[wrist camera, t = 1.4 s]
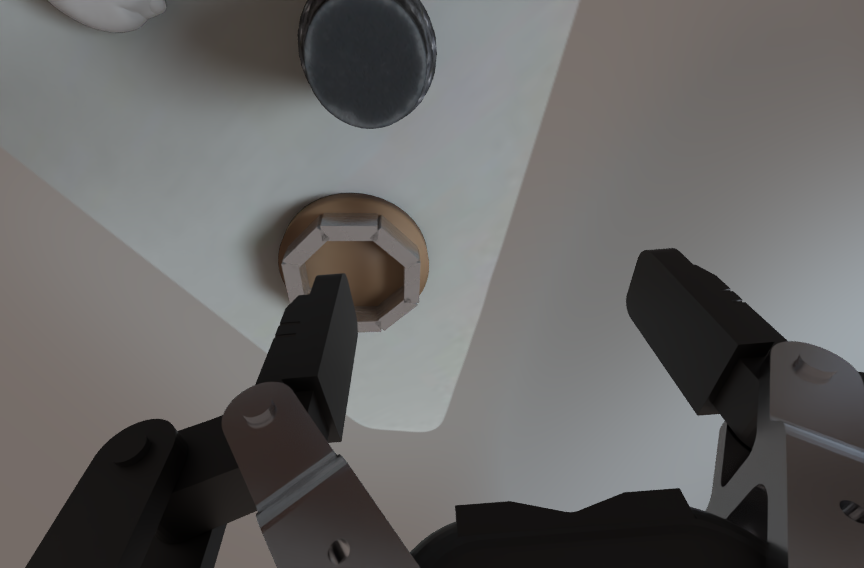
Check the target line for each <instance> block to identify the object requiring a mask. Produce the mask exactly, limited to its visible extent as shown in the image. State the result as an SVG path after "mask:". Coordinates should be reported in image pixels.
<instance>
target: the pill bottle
mask: <svg viewBox="0 0 864 568" xmlns="http://www.w3.org/2000/svg"><path fill="white" fill-rule="evenodd" d="M298 46H299V57H300V60H301V65H302V68H303V71H304V73H305V76H306V78H307V80H308V83H309V84H310V86H311V88H312V91H313V92H314V94H315V96H316V97H317V99H318V100H319V101H320V103H321V104H322V105H323V106H324V107H325V109H326V110H328V111H329V112H330V113H331V114H332V115H334V116H335V117H336V118H338V119H339V120H341V121H343V122H345V123H347V124H349V125H352V126H355V127H359V128H366V129H374V128H382V127H385V126H389V125H391V124H393V123H395V122H397V121H399V120H400V119H403V118H404V117H405V116H407V115H408V114H410V113H411V112H412V111H413V110H414V109H415V108H416V107H417V106H418V104H420V103H421V102H422V100H423V98H424V96H425V95H426V93H427V91H428V89H429V87H430V85H431V82H432V80H433V76H434V73H435V67H436V55H437V52H436V37H435V33H434V30H433V27H432V24H431V21H430V18H429V16H428V14H427V11H426V10H425V8H424V6H423V5H422V3H421V1H420V0H308V1H307V2H306V4H305V6H304V9H303V12H302V15H301V18H300V23H299V29H298Z"/></svg>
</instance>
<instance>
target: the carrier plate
mask: <svg viewBox="0 0 864 568" xmlns="http://www.w3.org/2000/svg"><path fill="white" fill-rule="evenodd" d="M278 264H279V271H280V274H281V277H282V280H283V282H284V284H285V286H286V288H287V293H288V297H289V302H290V303H291V302H292V301H293V300H294V299H295V298H296V297H297V296H298V295H307V294H310V292H311V289H312V286H313V283H314V280H315V277H316V276H317V275H327V274H340V273H345V274H346V276H347V279H348V283H349V287H350V291H351V295H352V300H353V304H354V308H355V312H356V317H357V324H358V332H381V329H383V330H384V331H385V330H386V329H387V328H388V327H390V326H391V325H392V324H394V323H395V322H396V321H398V320H399V319H400V318H402V317H403V316H404V315H405V314H407V313H408V312H409V311H411V310H412V309H413V308H415V307H416V306H417V303H419V295H420V294H421V292H422V291H423V289H424V287H425V284H426V281H427V278H428V272H429V259H428V253H427V247H426V243H425V240H424V237H423V235H422V233H421V231H420V229H419V227H418V226H417V224H416V223H415V222H414V220H413V219H412V218H411V217H410V216H409V215H408V214H407V213H405V212H404V211H403V210H402V209H400V208H399V207H397V206H396V205H394V204H392V203H390V202H388V201H386V200H384V199H381V198H378V197H375V196H371V195H366V194H359V193H342V194H336V195H330V196H327V197H324V198H321V199H319V200H317V201H314V202H312V203H311V204H309V205H308V206H306V207H305V208H303V209H302V210H301V211H300V212H299V213H298V214H297V215H296V216H295V217H294V218H293V220H292V221H291V223H290V224H289V226H288V228H287V230H286V232H285V235H284V237H283V240H282V242H281V245H280V249H279V256H278Z"/></svg>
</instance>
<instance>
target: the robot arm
mask: <svg viewBox="0 0 864 568" xmlns="http://www.w3.org/2000/svg"><path fill="white" fill-rule="evenodd" d="M626 306H627V310H628V314H629V316H630V317H631V319H632V321H633V322H634V324H635V325H636V327H637V328H638V329H639V331H640V332H641V334H642V335H643V337H644V338H645V340H646V341H647V343H648V344H649V345H650V347H651V348H652V350H653V351H654V353H655V354H656V356H657V357H658V359H659V360H660V362H661V363H662V364H663V366H664V367H665V369H666V370H667V372H668V373H669V375H670V376H671V378H672V379H673V380H674V382H675V383H676V385H677V386H678V388H679V389H680V391H681V392H682V393H683V395H684V396H685V398H686V399H687V401H688V402H689V404H690V405H691V407H692V408H693V410H694V411H695V413H696V414H697V415H711V414H721V416H722V417H723V419H724V420H725V421H724V423H723V424H722V426H721V428H720V431H719V439H718V447H717V455H716V462H715V471H714V478H713V487H712V494H711V498H710V501H709V504H708V507H707V509H706V511H702V510H699V509H696V508H692V507H689V505H688V503H687V501H686V500H685V498H684V496H683V494H682V492H681V490H680V489H679V488H676V489H664V490H650V491H637V492H625V493H622V494H619V495H617V496H614V497H612V498H609V499H607V500H605V501H602V502H599V503H597V504H594V505H592V506H589V507H587V508H584V509H582V510H580V511H577V512H563V511H558V510H553V509H548V508H542V507H537V506H532V505H527V504H522V503H516V502H511V501H508V502H495V503H483V504H470V505H457V506H455V511H456V522H454V523H451V524H449V525H446V526H444V527H442V528H441V529H439V530H437V531H435V532H433V533H432V534H430V535H429V536H428V537H426V538H425V539H424V540H423V541H421V542H420V543H419V544H418V545H417V546H416V547H415V548H414V549H413V550H412V551H411V552H409V551H408V549H407V548H406V546H405V545H404V544H403V542H402V541H401V539H400V538H399V536H398V535H397V533H396V532H395V531H394V529H393V528H392V526H391V525H390V523H389V522H388V521H387V519H386V518H385V516H384V515H383V513H382V512H381V510H380V509H379V508H378V506H377V505H376V503H375V502H374V500H373V499H372V497H371V496H370V495H369V493H368V492H367V490H366V489H365V487H364V486H363V484H362V483H361V482H360V480H359V479H358V477H357V476H356V474H355V473H354V472H353V470H352V469H351V467H350V466H349V464H348V463H347V462H346V460H345V459H344V458H343V457H342V456H341V455H340V454H339V455H337V454H336V453H335V452H334V451H333V449H332V448H331V447H330V445H329V444H328V443H331V442H341V441H342V434H343V427H344V421H345V415H346V408H347V402H348V395H349V389H350V382H351V376H352V370H353V363H354V357H355V350H356V344H357V337H358V324H357V317H356V312H355V308H354V304H353V300H352V295H351V291H350V287H349V283H348V279H347V276H346V274H345V273H340V274H327V275H317V276H316V277H315V280H314V283H313V286H312V289H311V292H310V294H307V295H298V296H297V297H296V298H295V299H294V300H293V301H292V302H291V303H290V304H289V306H288V307H287V308H286V309H285V312H284V314H283V317H282V319H281V322H280V326H279V327H278V329H277V332H276V334H275V338H274V339H273V342H272V344H271V347H270V349H269V352H268V354H267V357H266V359H265V362H264V364H263V367H262V369H261V372H260V374H259V377H258V379H257V382H256V384H255V385H254V386H252V387H250V388H248V389H246V390H245V391H243V392H241V393H240V394H239V395H238V396H236V397H235V398H234V399H233V400H232V401H231V403H230V404H229V405H228V407H227V408H226V410H225V412H224V414H223V415H222V416H219V417H217V418H214V419H212V420H209V421H206V422H203V423H200V424H197V425H194V426H192V427H188V428H186V429H183V430H180V431H177V430H176V429H175V428H174V426H173V425H172V424H171V423H170V422H168V421H166V420H163V419H150V420H145V421H142V422H138V423H136V424H134V425H131V426H129V427H127V428H126V429H124V430H122V431H121V432H119V433H118V434H116V435H115V436H114V437H112V438H111V439H110V440H109V441H108V442H107V443H106V444H105V445H104V446H103V447H102V448H101V449H100V450H99V451H98V453H97V454H96V455H95V457H94V458H93V460H92V461H91V463H90V465H89V466H88V468H87V469H86V471H85V473H84V474H83V476H82V477H81V479H80V481H79V482H78V484H77V485H76V487H75V489H74V490H73V492H72V493H71V495H70V497H69V499H68V500H67V501H66V503H65V505H64V506H63V508H62V509H61V511H60V513H59V514H58V516H57V517H56V519H55V521H54V522H53V524H52V525H51V527H50V529H49V530H48V532H47V534H46V535H45V537H44V538H43V540H42V542H41V543H40V545H39V546H38V548H37V550H36V551H35V553H34V555H33V556H32V557H31V559H30V561H29V563H28V564H27V566H26V567H25V568H214V566H215V562H216V559H217V555H218V552H219V549H220V545H221V542H222V538H223V535H224V531H225V528H226V525H227V523H229V522H231V521H234V520H236V519H238V518H241V517H243V516H245V515H248V514H250V513H253V512H255V511H258V513H257V514H256V517H257V521H258V524H259V526H260V529H261V531H262V534H263V536H264V538H265V541H266V543H267V545H268V548H269V550H270V552H271V554H272V557H273V559H274V562H275V564H276V566H277V568H864V373H863V372H858V371H857V370H856V369H855V368H854V367H853V366H852V365H851V364H850V363H848V362H847V361H846V360H844V359H843V358H841V357H839V356H838V355H836V354H834V353H832V352H830V351H828V350H826V349H823V348H821V347H818V346H815V345H812V344H808V343H803V342H796V341H787V340H786V339H785V338H784V337H783V336H782V335H781V334H779V333H778V332H777V331H776V330H775V329H774V328H773V327H772V326H771V325H770V324H769V323H767V322H766V321H765V320H764V319H763V318H762V317H761V316H760V315H759V314H757V313H756V312H755V311H754V310H753V309H752V308H751V307H750V306H749V305H748V304H747V303H746V302H742V299H741V298H740V297H739V296H738V295H737V294H736V293H734V292H733V291H730V288H729V287H728V286H727V285H726V284H725V283H724V282H722V281H721V280H720V279H719V278H718V277H717V276H715V275H714V274H712V273H710V272H708V271H706V270H705V269H703V268H701V267H699V266H697V265H693V264H692V263H691V262H690V261H689V260H688V259H687V258H686V257H685V256H684V255H683V254H682V253H681V252H680V251H678V250H677V249H675V248H669V249H656V250H644V251H643V252H641V253H640V255H639V257H638V260H637V263H636V266H635V270H634V273H633V276H632V280H631V283H630V287H629V290H628V293H627V298H626Z"/></svg>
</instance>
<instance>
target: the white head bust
mask: <svg viewBox="0 0 864 568" xmlns="http://www.w3.org/2000/svg"><path fill="white" fill-rule="evenodd" d="M48 1H49V2H50V3H51V4H52V5H53V6H54V7H56V8H57V9H58V10H60V11H61V12H63V13H64V14H66V15H67V16H69V17H71V18H72V19H74V20H76V21H78V22H80V23H82V24H84V25H86V26H89V27H92V28H95V29H98V30H102V31H107V32H115V33H122V32H129V31H133V30H136V29H138V28H140V27H141V26H142V25H143V24H144V23H145V22H146V21H147V20H148V19H150V18H153V17H155V16H157V15H160V14H162V13H164V12H165V10H166V2H165V0H48Z"/></svg>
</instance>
